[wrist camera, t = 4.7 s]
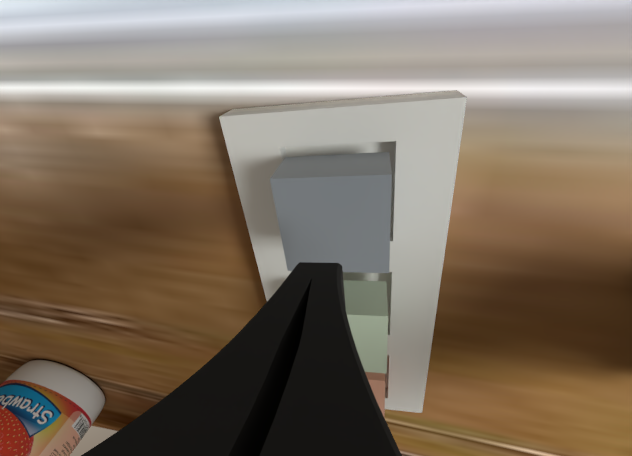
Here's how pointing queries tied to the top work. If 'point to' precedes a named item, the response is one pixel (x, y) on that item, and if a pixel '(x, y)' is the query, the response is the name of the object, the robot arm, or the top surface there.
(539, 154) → the top surface
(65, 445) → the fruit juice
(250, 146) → the keypad
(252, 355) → the robot arm
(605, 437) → the top surface
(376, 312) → the key sage
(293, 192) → the key slate
